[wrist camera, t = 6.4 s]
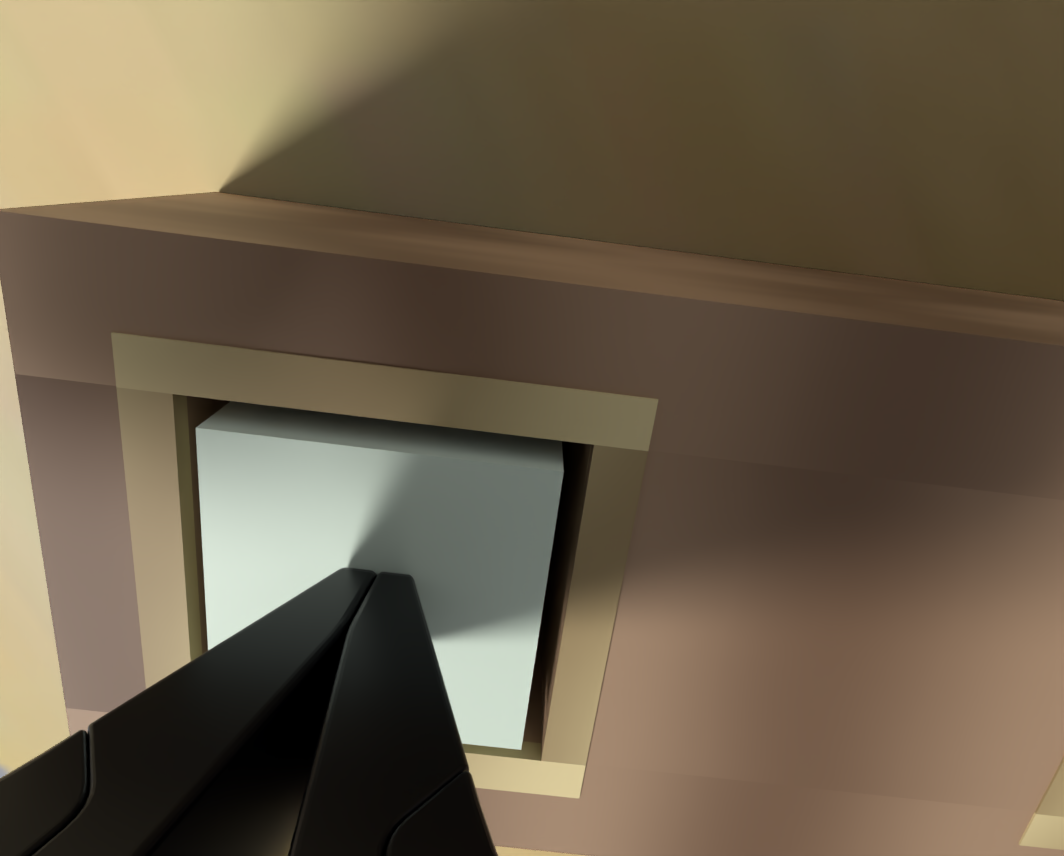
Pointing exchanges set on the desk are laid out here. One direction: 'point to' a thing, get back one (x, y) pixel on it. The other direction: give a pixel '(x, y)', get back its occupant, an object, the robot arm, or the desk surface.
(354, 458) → the sage peg
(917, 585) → the walnut bar
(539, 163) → the desk surface
